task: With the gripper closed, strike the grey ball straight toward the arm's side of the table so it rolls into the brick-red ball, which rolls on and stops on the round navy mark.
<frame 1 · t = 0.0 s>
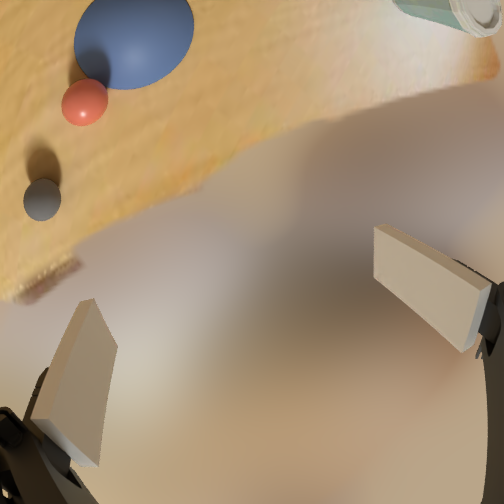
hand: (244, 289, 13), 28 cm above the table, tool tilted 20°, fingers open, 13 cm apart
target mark: (132, 33, 24), on the table
red ball: (84, 102, 25), on the table
grey ball: (42, 199, 30), on the table
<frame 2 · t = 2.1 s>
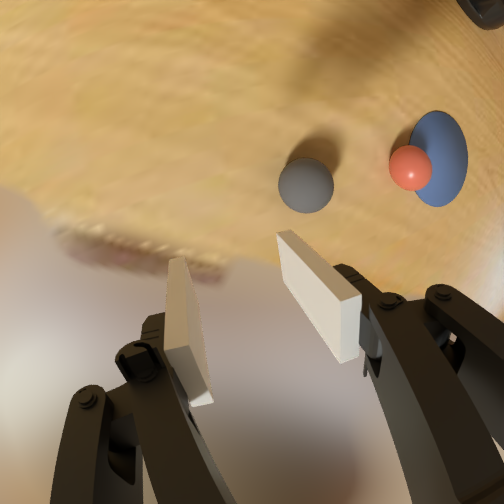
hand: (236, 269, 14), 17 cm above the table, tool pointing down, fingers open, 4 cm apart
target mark: (441, 159, 34), on the table
red ball: (410, 167, 30), on the table
grey ball: (306, 185, 28), on the table
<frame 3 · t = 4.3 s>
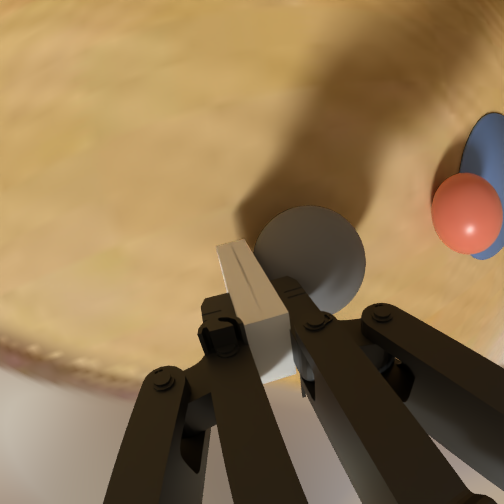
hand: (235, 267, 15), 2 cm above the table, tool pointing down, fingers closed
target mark: (497, 188, 19), on the table
red ball: (467, 213, 16), on the table
grey ball: (309, 262, 14), on the table, touching gripper
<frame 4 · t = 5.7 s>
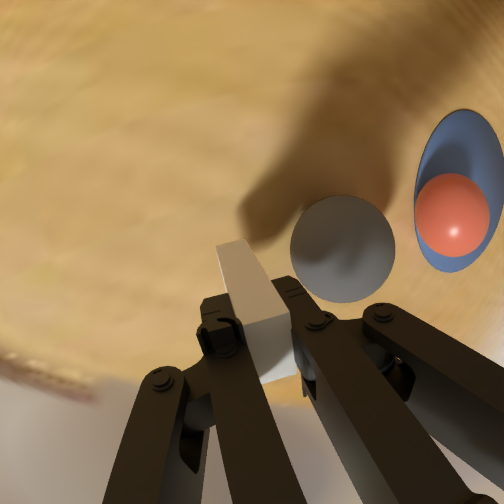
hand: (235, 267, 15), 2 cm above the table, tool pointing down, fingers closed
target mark: (468, 194, 19), on the table
red ball: (452, 214, 16), on the table
grey ball: (343, 249, 15), on the table
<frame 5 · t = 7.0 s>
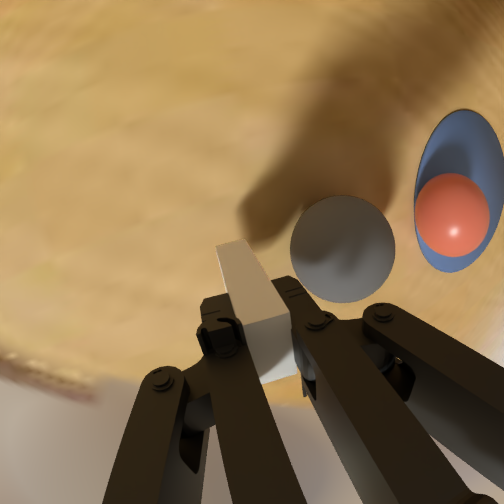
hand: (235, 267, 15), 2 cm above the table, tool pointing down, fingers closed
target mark: (468, 194, 19), on the table
red ball: (452, 214, 16), on the table
grey ball: (343, 249, 15), on the table
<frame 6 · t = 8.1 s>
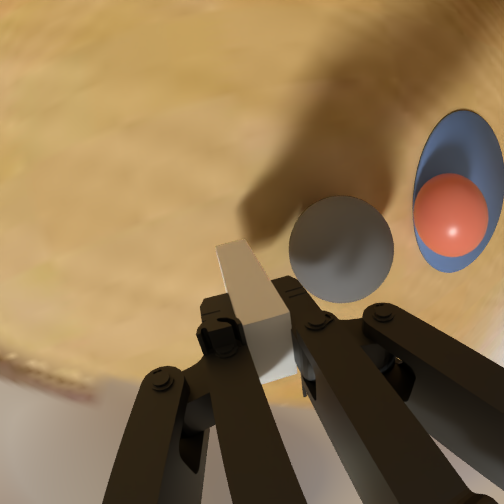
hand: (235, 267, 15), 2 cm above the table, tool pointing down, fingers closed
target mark: (467, 194, 19), on the table
red ball: (451, 215, 16), on the table
grey ball: (341, 249, 15), on the table
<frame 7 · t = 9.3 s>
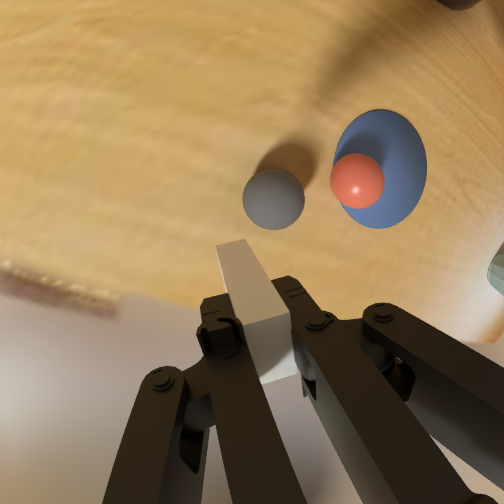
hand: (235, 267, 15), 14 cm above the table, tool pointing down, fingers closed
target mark: (385, 170, 30), on the table
disposable coffee cup: (495, 266, 44), on the table
red ball: (357, 180, 27), on the table
grey ball: (273, 199, 26), on the table
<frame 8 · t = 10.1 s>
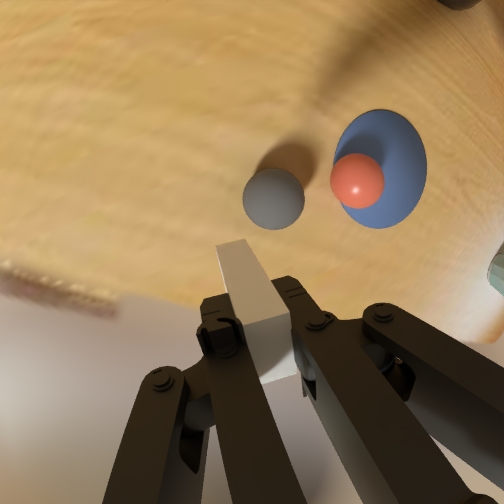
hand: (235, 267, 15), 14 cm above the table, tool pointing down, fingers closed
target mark: (385, 170, 30), on the table
disposable coffee cup: (495, 266, 44), on the table
red ball: (357, 180, 27), on the table
grey ball: (273, 199, 26), on the table
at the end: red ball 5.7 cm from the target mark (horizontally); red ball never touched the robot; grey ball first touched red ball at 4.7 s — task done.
